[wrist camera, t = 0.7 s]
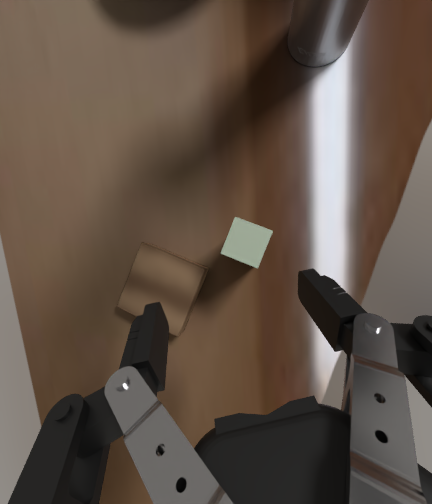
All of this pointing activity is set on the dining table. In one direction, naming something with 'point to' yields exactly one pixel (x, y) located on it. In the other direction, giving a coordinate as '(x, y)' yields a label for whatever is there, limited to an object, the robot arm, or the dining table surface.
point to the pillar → (246, 242)
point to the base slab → (163, 285)
